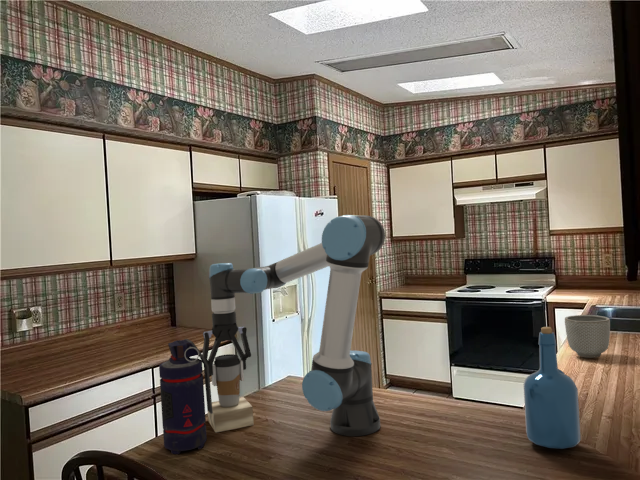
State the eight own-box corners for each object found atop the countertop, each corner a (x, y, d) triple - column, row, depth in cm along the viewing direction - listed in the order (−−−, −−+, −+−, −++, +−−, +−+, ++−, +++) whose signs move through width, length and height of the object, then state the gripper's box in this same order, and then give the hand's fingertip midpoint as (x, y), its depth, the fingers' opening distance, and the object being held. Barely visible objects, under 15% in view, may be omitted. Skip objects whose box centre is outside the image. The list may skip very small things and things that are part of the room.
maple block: (253, 425, 161) (252, 406, 161) (215, 433, 157) (214, 413, 157) (244, 414, 172) (243, 396, 172) (208, 421, 168) (207, 403, 168)
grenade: (168, 458, 139) (161, 348, 139) (160, 444, 150) (154, 341, 149) (218, 446, 145) (212, 340, 145) (207, 433, 156) (201, 334, 156)
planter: (573, 360, 214) (571, 322, 214) (561, 351, 231) (559, 315, 231) (618, 359, 211) (616, 321, 211) (602, 350, 228) (600, 314, 228)
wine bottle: (578, 454, 127) (571, 333, 127) (521, 445, 134) (515, 330, 134) (583, 434, 139) (577, 323, 139) (531, 427, 146) (525, 322, 146)
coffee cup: (237, 408, 159) (234, 359, 159) (211, 408, 161) (208, 360, 161) (246, 399, 168) (243, 353, 168) (222, 399, 169) (219, 354, 169)
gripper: (251, 306, 172) (256, 374, 172) (188, 314, 163) (192, 385, 163) (258, 309, 165) (263, 379, 165) (192, 316, 156) (197, 391, 156)
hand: (228, 382), depth 164 cm, fingers closed on coffee cup, 8 cm apart
